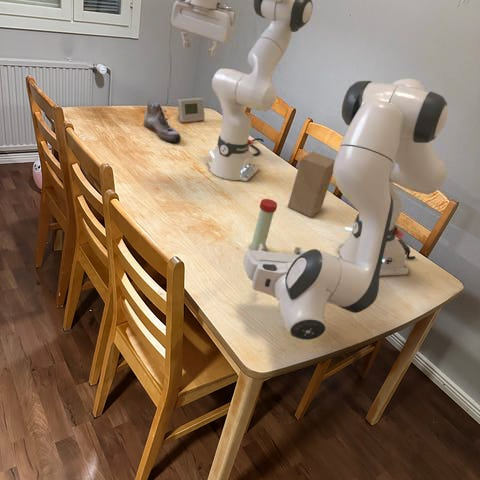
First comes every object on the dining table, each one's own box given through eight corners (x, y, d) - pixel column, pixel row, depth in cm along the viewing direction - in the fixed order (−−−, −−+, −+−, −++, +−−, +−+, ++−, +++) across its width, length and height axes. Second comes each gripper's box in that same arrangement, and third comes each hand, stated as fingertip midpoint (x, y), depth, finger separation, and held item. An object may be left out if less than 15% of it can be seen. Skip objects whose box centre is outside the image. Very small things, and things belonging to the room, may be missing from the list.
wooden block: (310, 217, 160) (327, 167, 149) (286, 207, 163) (301, 157, 153) (321, 209, 167) (337, 160, 157) (298, 198, 171) (312, 150, 160)
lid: (257, 209, 127) (258, 203, 126) (262, 202, 131) (263, 197, 130) (273, 214, 126) (274, 208, 125) (277, 207, 130) (279, 202, 129)
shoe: (184, 144, 195) (187, 117, 189) (160, 144, 190) (163, 116, 183) (163, 123, 212) (165, 98, 206) (141, 123, 207) (143, 97, 200)
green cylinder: (249, 249, 135) (260, 204, 126) (253, 243, 138) (264, 199, 130) (261, 254, 134) (273, 209, 126) (265, 247, 137) (277, 203, 129)
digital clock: (179, 123, 216) (182, 102, 211) (171, 117, 222) (173, 96, 216) (207, 123, 225) (211, 102, 220) (199, 116, 231) (202, 96, 225)
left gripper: (242, 8, 122) (233, 60, 129) (184, -8, 129) (179, 42, 137) (230, 7, 117) (221, 61, 124) (170, -10, 125) (165, 42, 132)
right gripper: (337, 274, 102) (321, 241, 113) (251, 267, 97) (244, 233, 109) (329, 295, 105) (314, 261, 116) (246, 289, 101) (239, 254, 112)
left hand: (198, 51), depth 131 cm, fingers open, 8 cm apart
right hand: (279, 247), depth 113 cm, fingers open, 8 cm apart
